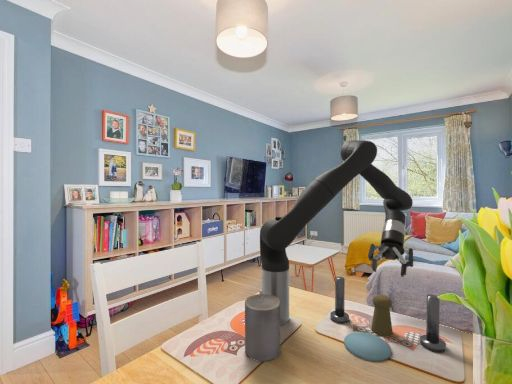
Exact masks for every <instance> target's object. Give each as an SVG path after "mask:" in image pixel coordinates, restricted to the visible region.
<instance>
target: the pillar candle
mask: <svg viewBox="0 0 512 384" xmlns="http://www.w3.org/2000/svg"><path fill="white" fill-rule="evenodd" d="M244 344H245V345H244V352H245V355H246V354H247V355H248V356H249V357H250V358H252V359H255V360H258V361H257V362H259V361H261V362H262V363H263V362H267V361H272V360H275V359H277V357H278V356H279V355H280V354H281V325H280V301H279V299H278V298H277V297H275V296H272V295H268V294H253V295H252V294H251V295H250V296H247V298H245V300H244ZM247 355H246V356H247ZM248 356H247V357H248ZM249 357H248V358H249ZM250 358H249V359H250ZM252 359H251V360H252ZM255 360H254V361H255ZM261 362H260V363H261Z"/></svg>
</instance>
